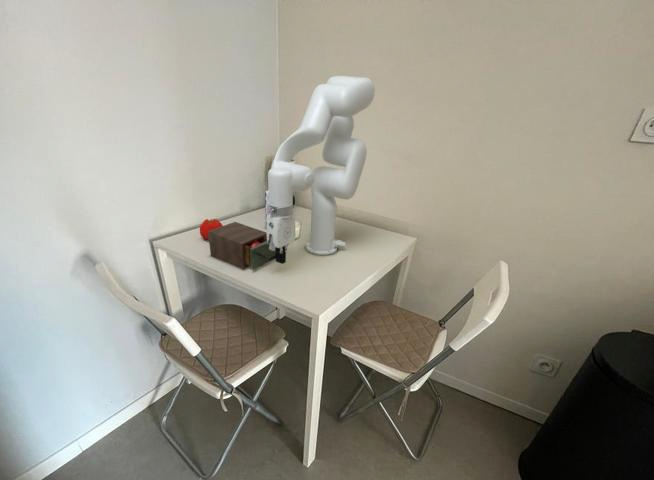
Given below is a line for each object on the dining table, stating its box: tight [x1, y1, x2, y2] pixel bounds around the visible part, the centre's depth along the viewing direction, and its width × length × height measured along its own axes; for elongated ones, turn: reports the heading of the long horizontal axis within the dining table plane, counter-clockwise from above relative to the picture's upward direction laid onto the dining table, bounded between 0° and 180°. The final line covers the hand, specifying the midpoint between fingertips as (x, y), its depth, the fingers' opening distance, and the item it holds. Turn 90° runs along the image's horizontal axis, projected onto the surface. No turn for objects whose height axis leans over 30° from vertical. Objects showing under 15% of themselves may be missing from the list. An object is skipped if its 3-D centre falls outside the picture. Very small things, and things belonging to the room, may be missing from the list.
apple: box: [247, 240, 261, 248], centre depth 123 cm, size 6×6×7 cm
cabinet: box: [208, 221, 267, 270], centre depth 127 cm, size 17×13×10 cm
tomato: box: [199, 218, 224, 241], centre depth 140 cm, size 9×9×8 cm
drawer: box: [244, 237, 276, 271], centre depth 123 cm, size 21×12×8 cm, turn 56°
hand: (280, 261), depth 118 cm, fingers closed
